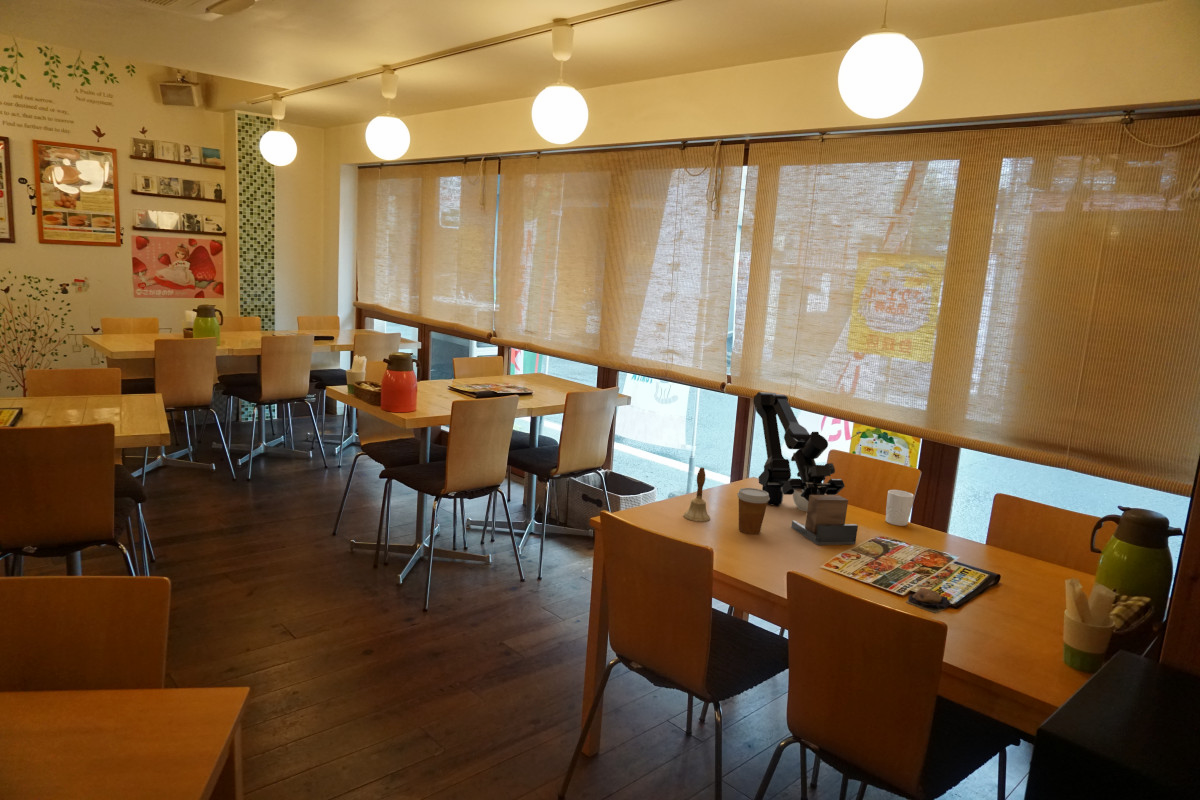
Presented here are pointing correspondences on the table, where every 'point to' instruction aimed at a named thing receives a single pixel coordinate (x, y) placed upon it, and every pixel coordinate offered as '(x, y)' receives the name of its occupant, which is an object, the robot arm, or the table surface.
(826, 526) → the grey open tray
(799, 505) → the lidded jar
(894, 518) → the white cup
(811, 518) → the walnut slider
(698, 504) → the hand bell
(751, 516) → the disposable coffee cup
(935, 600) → the bread roll
